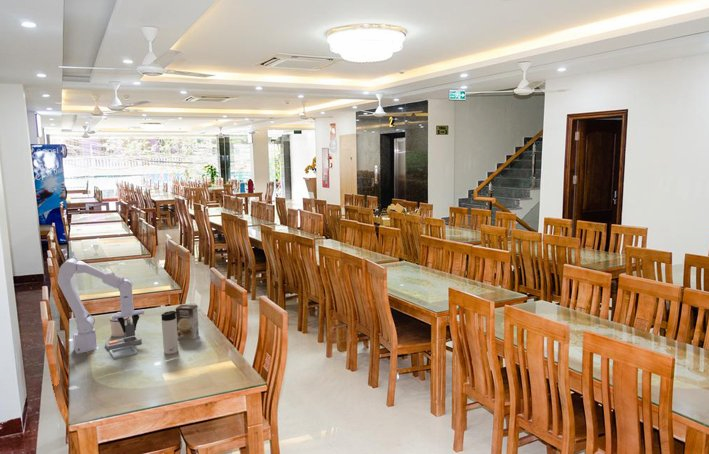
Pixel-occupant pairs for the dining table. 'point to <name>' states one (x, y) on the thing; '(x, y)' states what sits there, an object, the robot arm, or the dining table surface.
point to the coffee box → (187, 322)
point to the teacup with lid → (117, 327)
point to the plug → (129, 329)
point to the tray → (123, 352)
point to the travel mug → (169, 333)
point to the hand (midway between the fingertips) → (129, 331)
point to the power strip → (123, 342)
